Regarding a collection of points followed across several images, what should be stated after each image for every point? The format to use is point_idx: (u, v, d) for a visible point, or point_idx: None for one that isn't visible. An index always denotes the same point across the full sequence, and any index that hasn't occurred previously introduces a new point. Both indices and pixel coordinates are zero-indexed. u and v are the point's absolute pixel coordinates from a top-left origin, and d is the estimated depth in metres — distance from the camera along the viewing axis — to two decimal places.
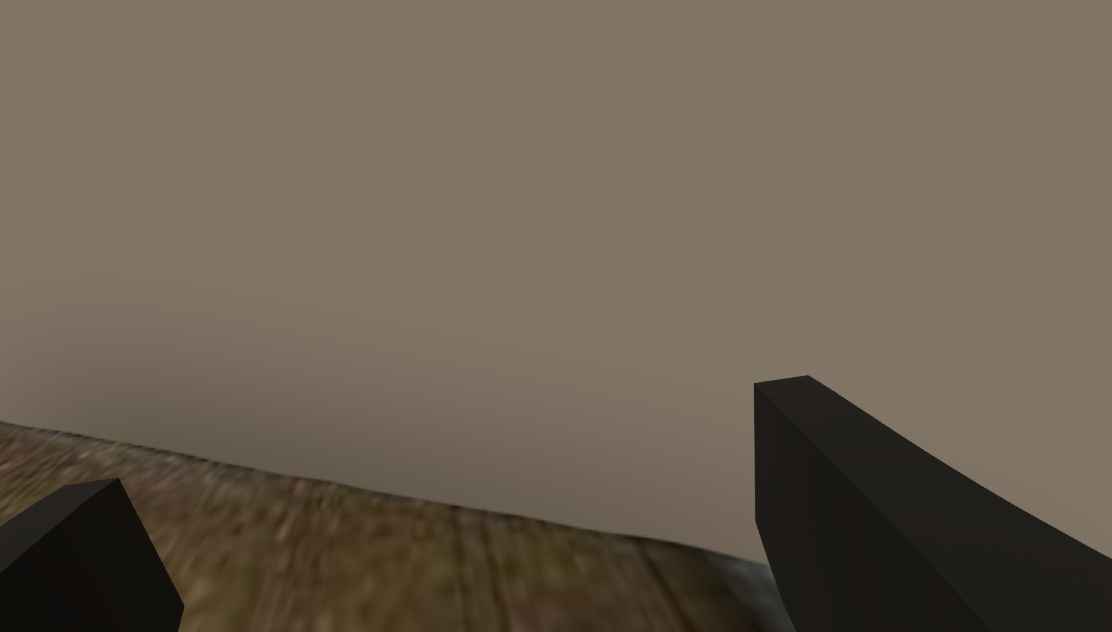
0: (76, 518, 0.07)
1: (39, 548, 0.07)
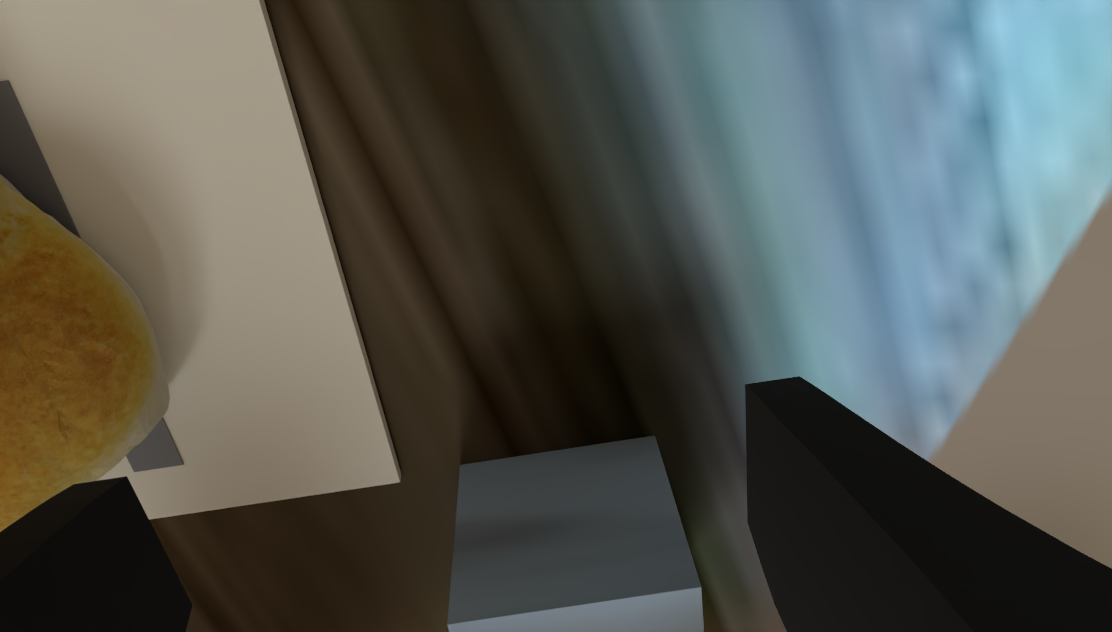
0: (85, 516, 0.07)
1: (49, 546, 0.07)
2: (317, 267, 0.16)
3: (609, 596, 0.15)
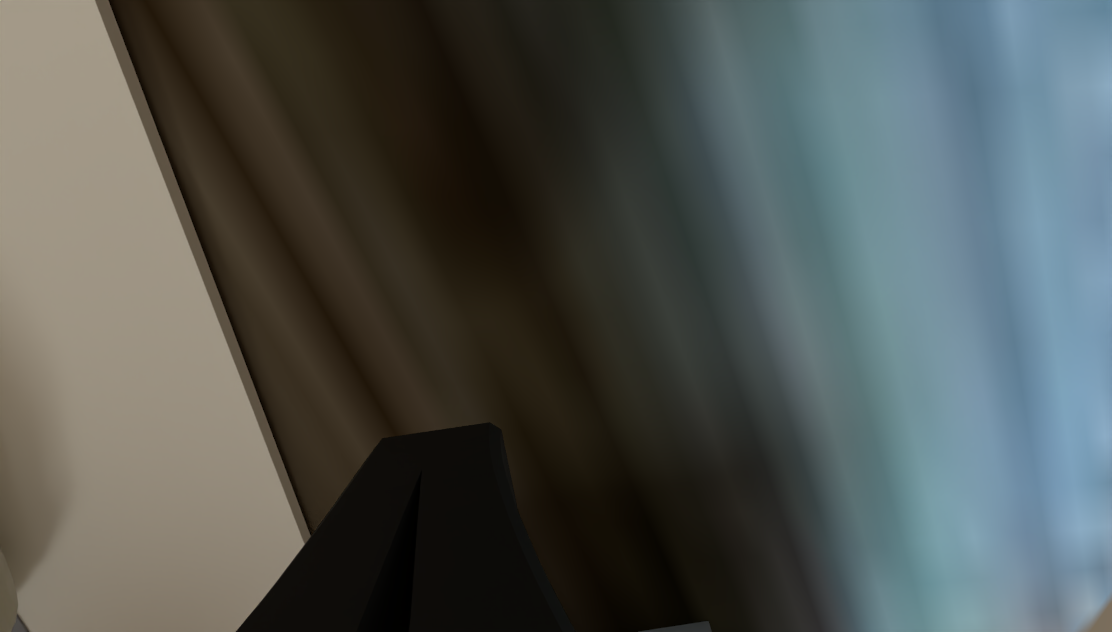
0: None
1: (417, 492, 0.07)
2: (229, 426, 0.11)
3: None
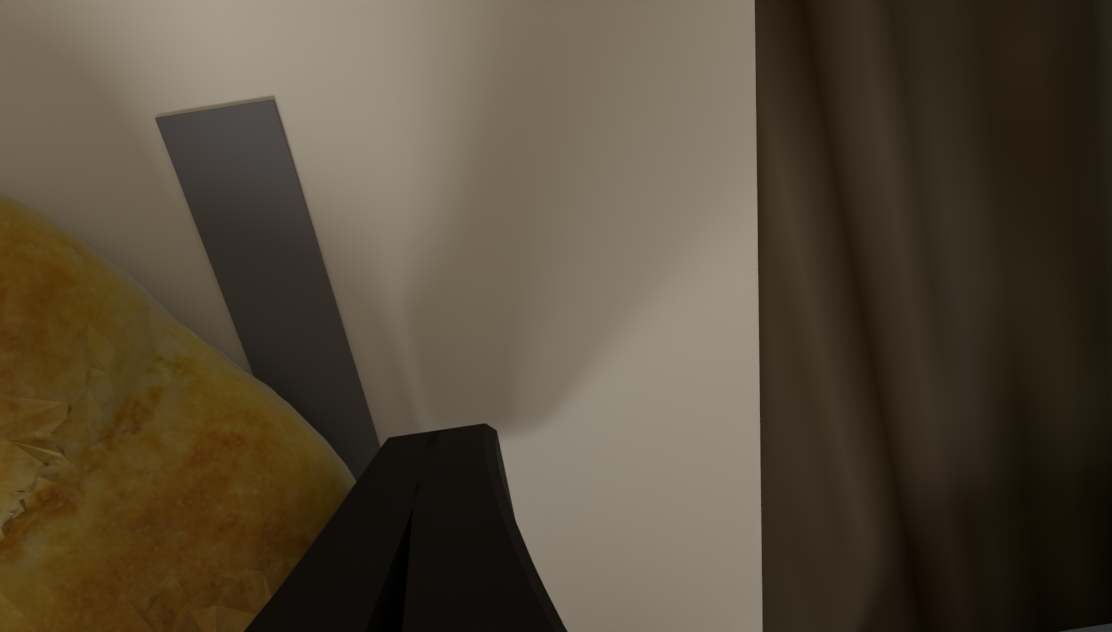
0: None
1: (424, 491, 0.07)
2: (728, 402, 0.10)
3: None
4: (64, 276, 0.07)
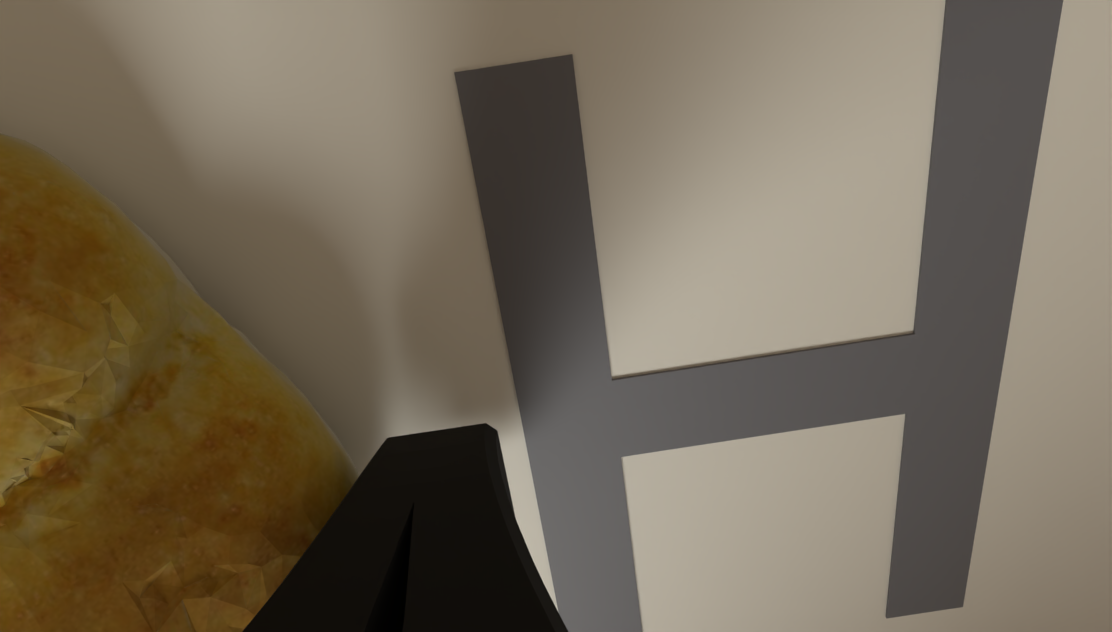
0: None
1: (422, 491, 0.07)
2: None
3: None
4: (96, 242, 0.07)
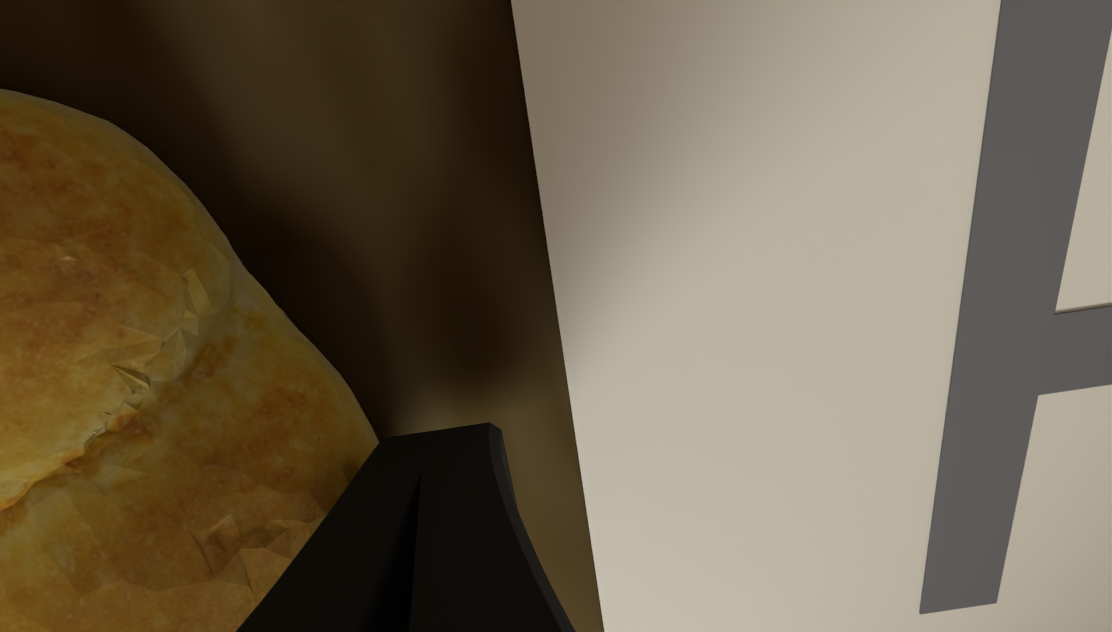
0: None
1: (417, 492, 0.07)
2: None
3: None
4: (178, 221, 0.07)
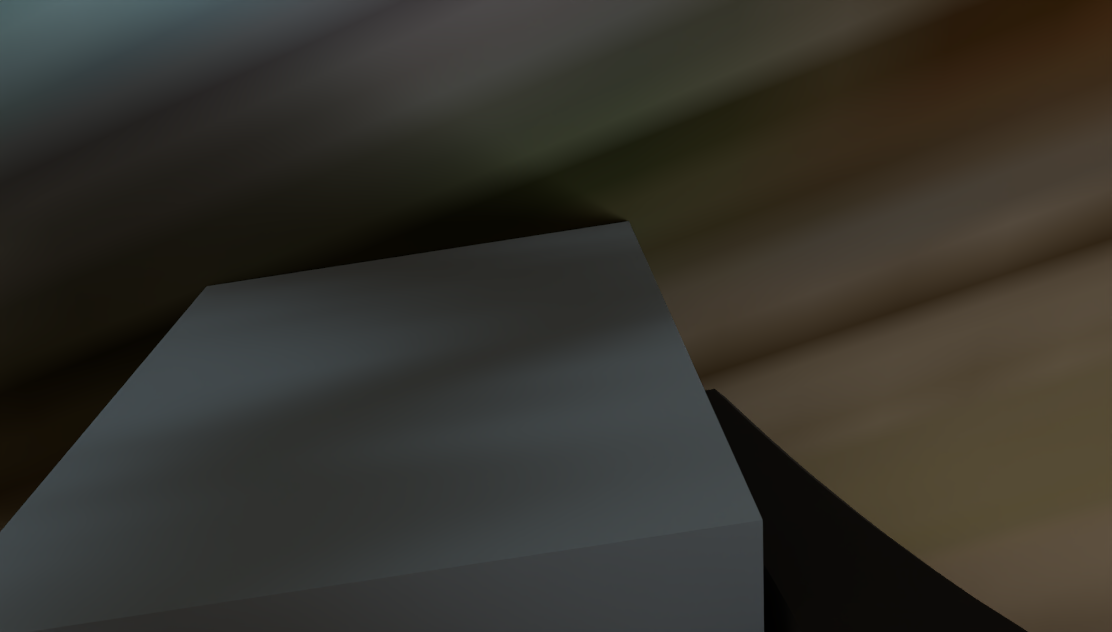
0: None
1: None
2: None
3: None
4: None
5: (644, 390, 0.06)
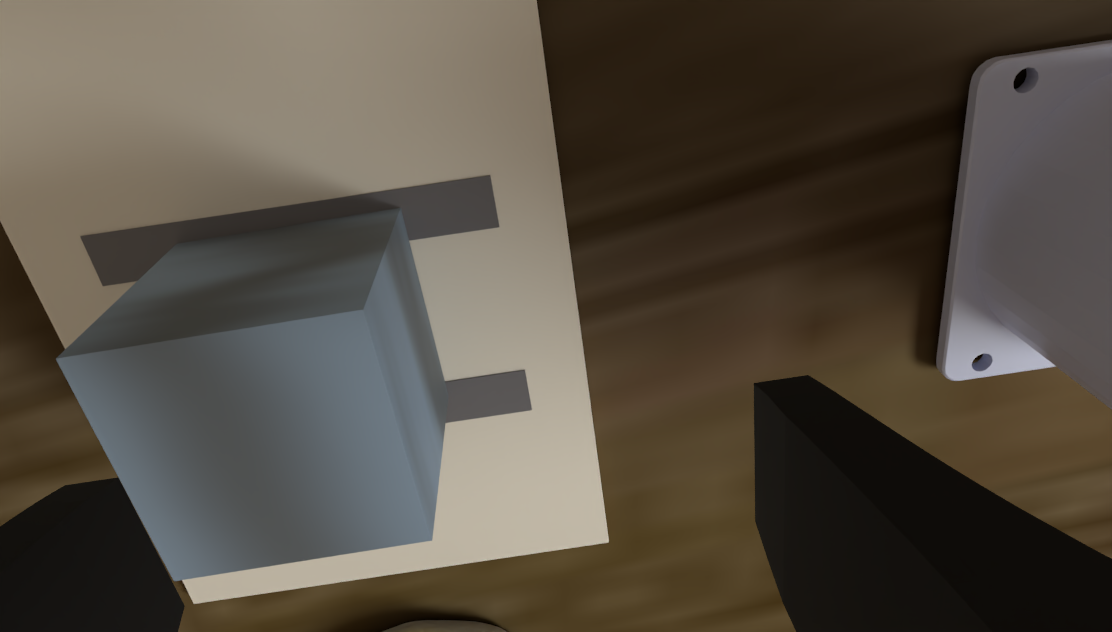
0: (76, 518, 0.07)
1: (39, 548, 0.07)
2: None
3: (105, 443, 0.13)
4: None
5: (352, 275, 0.13)
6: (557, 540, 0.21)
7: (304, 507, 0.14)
